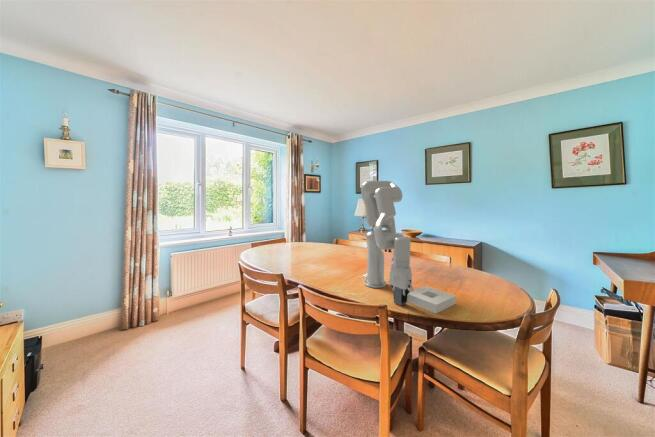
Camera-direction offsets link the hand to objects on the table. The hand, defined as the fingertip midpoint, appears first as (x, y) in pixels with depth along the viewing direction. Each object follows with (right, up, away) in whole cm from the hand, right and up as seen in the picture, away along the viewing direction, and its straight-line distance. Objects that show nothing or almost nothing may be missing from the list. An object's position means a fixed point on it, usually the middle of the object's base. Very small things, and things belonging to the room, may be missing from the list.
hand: (400, 300), depth 118 cm
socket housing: (+15, -2, +1) cm, 15 cm away
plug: (0, -2, 0) cm, 1 cm away
